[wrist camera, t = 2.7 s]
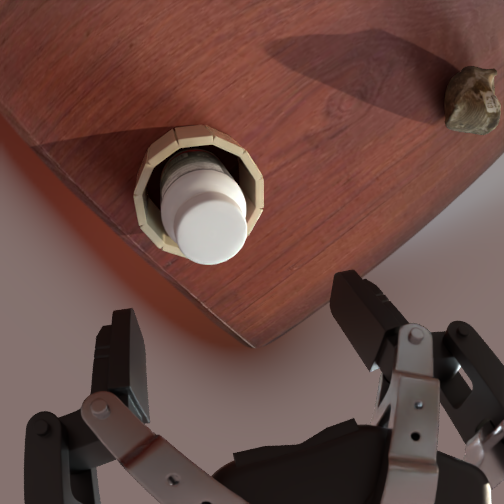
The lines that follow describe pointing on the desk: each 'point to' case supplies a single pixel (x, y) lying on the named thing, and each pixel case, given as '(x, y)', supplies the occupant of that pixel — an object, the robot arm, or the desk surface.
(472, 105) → the fossilized seashell
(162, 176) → the pill bottle
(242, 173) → the bracelet
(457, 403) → the robot arm
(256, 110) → the desk surface
